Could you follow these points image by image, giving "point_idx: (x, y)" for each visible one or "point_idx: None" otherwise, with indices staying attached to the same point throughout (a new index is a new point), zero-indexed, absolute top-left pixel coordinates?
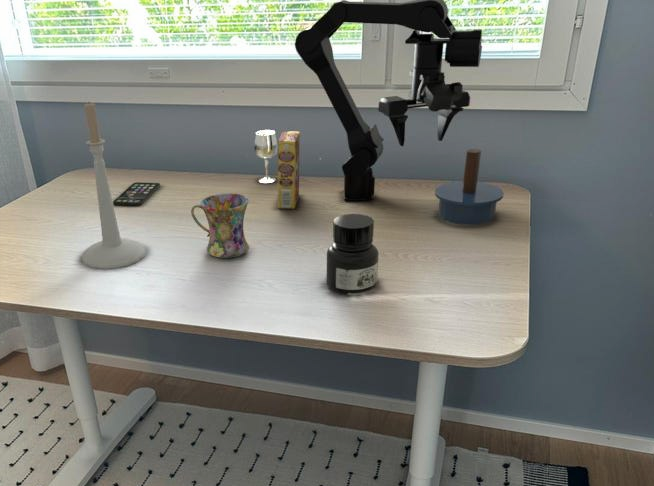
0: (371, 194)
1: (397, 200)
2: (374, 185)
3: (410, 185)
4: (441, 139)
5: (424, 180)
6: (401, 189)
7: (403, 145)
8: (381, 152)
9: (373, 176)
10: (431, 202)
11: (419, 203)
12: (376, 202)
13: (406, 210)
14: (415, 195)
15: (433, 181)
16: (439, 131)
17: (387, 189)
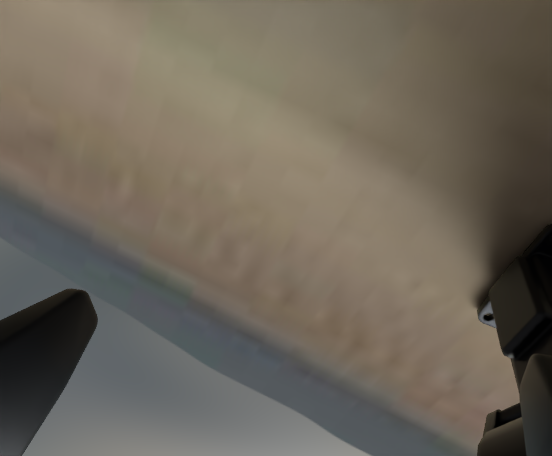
0: (533, 258)
1: (431, 169)
2: (527, 286)
3: (283, 290)
4: (67, 293)
5: (215, 304)
6: (337, 273)
7: (539, 356)
8: (513, 449)
9: (533, 331)
10: (294, 73)
11: (356, 84)
12: (548, 190)
13: (486, 4)
14: (318, 190)
15: (189, 283)
16: (36, 382)
17: (389, 298)
